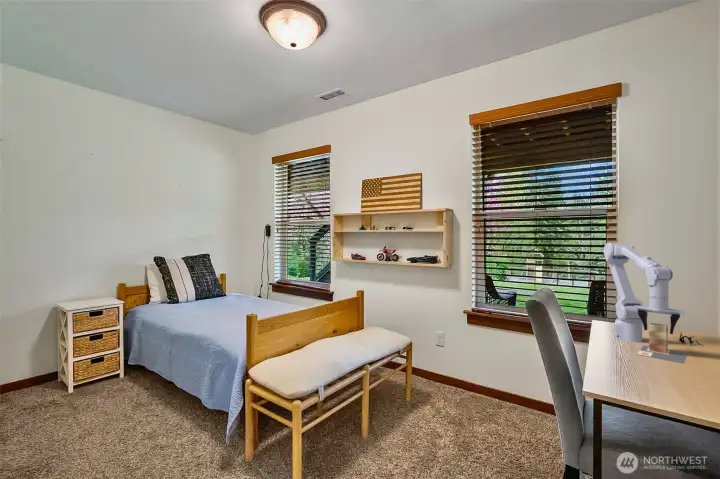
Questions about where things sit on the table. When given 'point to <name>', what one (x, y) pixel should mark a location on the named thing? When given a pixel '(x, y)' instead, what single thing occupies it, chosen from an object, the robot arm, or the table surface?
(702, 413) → the table surface
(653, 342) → the rust block
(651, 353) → the build board
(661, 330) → the maple block
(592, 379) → the table surface
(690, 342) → the creature
